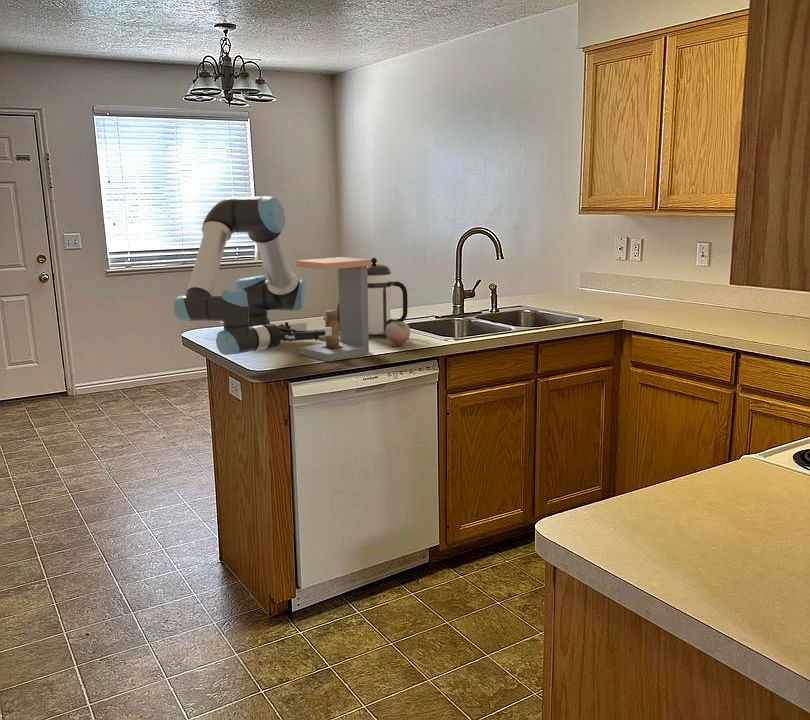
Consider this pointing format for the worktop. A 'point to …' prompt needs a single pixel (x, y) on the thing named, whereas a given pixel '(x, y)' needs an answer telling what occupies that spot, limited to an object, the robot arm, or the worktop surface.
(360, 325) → the socket
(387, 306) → the coffee press
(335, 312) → the peg
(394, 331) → the decorative fruit
